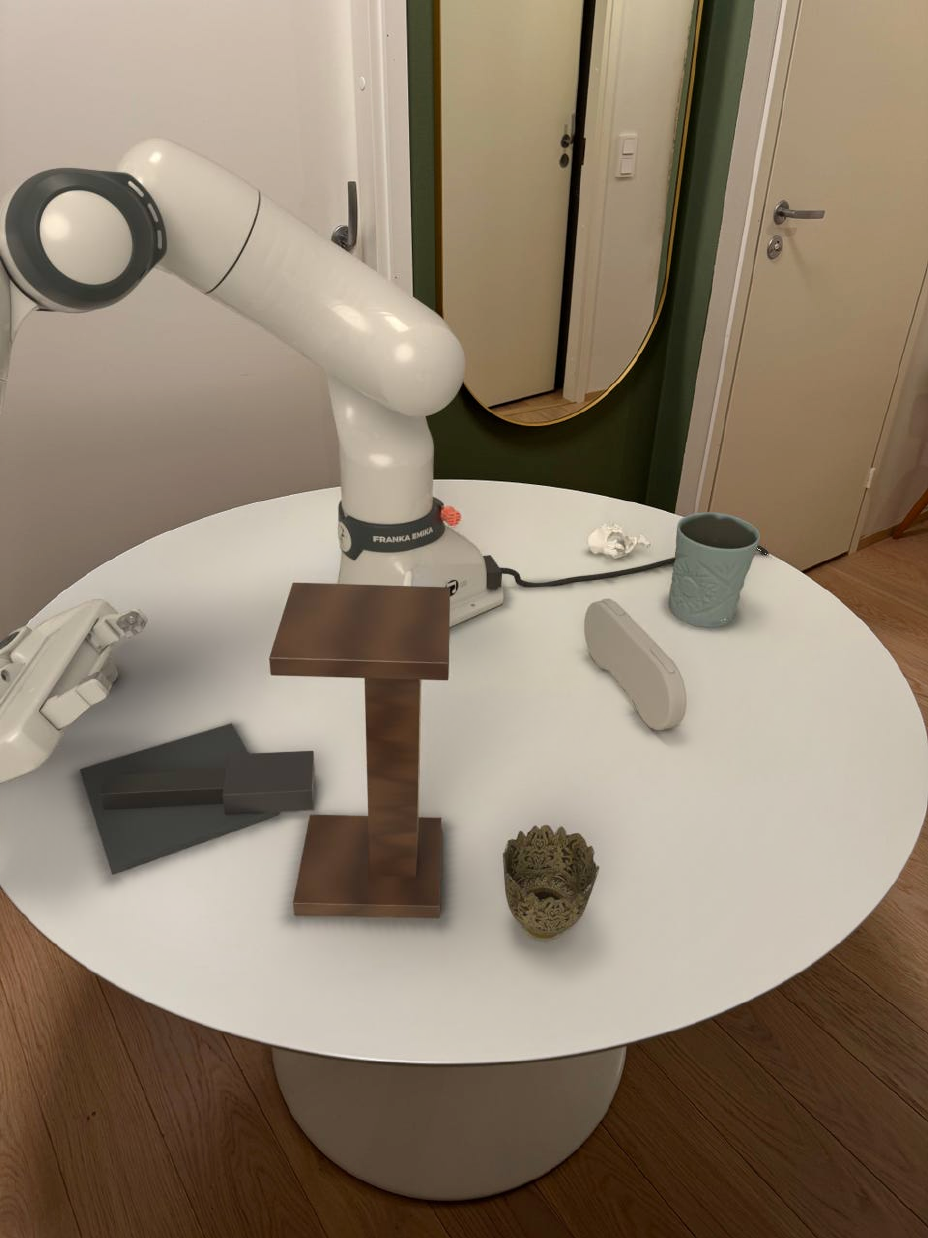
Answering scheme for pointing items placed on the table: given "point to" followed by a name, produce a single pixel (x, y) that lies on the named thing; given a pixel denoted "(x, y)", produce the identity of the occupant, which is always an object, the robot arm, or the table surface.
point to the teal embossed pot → (710, 567)
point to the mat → (170, 827)
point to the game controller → (635, 664)
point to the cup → (548, 880)
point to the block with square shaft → (222, 785)
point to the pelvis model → (600, 544)
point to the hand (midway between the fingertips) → (123, 649)
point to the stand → (372, 743)
